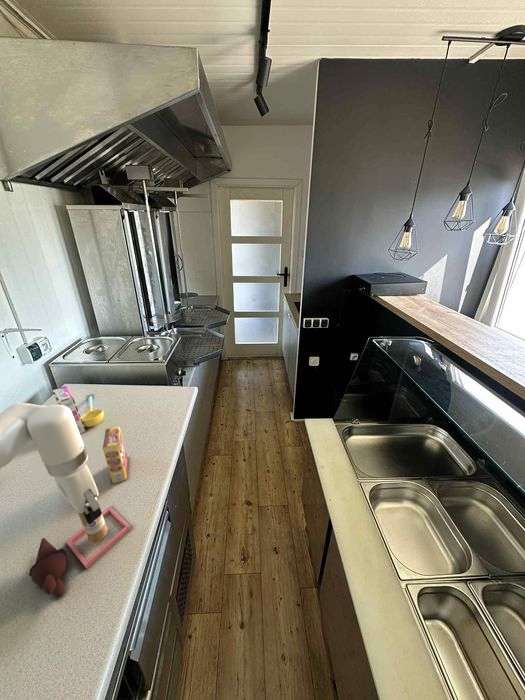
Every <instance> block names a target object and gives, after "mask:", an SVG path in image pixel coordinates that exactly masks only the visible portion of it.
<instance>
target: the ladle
mask: <svg viewBox="0 0 525 700" xmlns="http://www.w3.org/2000/svg"><path fill="white" fill-rule="evenodd" d="M87 405H88V412H86V413H84V414H83V415H81V418H82V420H83V423H84V425H85V428H92V427H95V426H97V425H99V423H101V422H102V420H103V418H104V411H103V409H100V408H99V409H98V408H97V409H94V410H93V396H92V395H90V396H89V397H88V399H87Z"/></svg>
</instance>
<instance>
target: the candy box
mask: <svg viewBox="0 0 525 700" xmlns="http://www.w3.org/2000/svg"><path fill="white" fill-rule="evenodd" d="M104 432H105V433H104V437H103V444H102V450H103V454H104V456H105V461H106V465H107V469H108V471H109V475H110V478H111V481H112V484H116V483H120V482H123V481H126V480H127V477H128V463H129V459H128V455H127V450H126V446H125V443H124V439H123V435H122V431H121V427H120V426H113V427H109V428H105V431H104Z"/></svg>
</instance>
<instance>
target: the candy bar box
mask: <svg viewBox="0 0 525 700" xmlns="http://www.w3.org/2000/svg"><path fill="white" fill-rule="evenodd" d="M52 393H53V397H54V398H55V401H56V403H57V405H64V406H67V407H68V408H69V409H70V410H71V412H72V414H73V417H74V419H75V422H76V425H77V427H78V430H79V433H80V434H83V433H85V432H87V427H86V426H85V425H84V423H83V420H82V418H81V416H82V415H81V412H80V411H79V408H78V406H77V403H76V401H75V399H74V397H73V394H72V393H71V391H70V389H69V388H68V386H67V385H64V386H61V387H58V388H56V389H53V390H52Z"/></svg>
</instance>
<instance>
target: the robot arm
mask: <svg viewBox="0 0 525 700" xmlns="http://www.w3.org/2000/svg"><path fill="white" fill-rule="evenodd" d="M30 441H32V442H33V444H34V446H35V448H36V450H37V452H38V455H39V457H40V459H41V461H42V463H43V465H44V468H45V469H46V471H47V474H48V475H49V476H50V477H52V478H53V479H54V481H55V484H56V487H57V489H58V491H59V492H60V494H61V495H62V497H63V498H64V499H65V500H66V501H67V502H68V503H69V504H70V505H71V506H72V508H73V509H74V510H75V509H76V510H81V509H82V508H83V510H84V512H83V514H84V516H85V518H86V521H87V523H88V524H91V523H92V522H93V521H94V520H96V519H97V518H98V517H99V516H101V515H102V513H103V512H102V510H101V507H100V505H99V502H98V499H97V500H96V498H98V497H99V495H100V494H99V489H98V487H97V485H96V482H95V479H94V477H93V475H92V473H91V471H90V468H89V466H88V465H87V461H88V459H89V454H88V452H87V449H86V447H85V443H84V441H83V438H82V436H81V433H79V430H78V427H77V425H76V422H75V419H74V417H73V414H72V412H71V410H70V409H69V408H68V407H67V406H64V405H58V404H52V405H40V404H34V403H28V402H18V403H13V404H11V405H10V406H8V407H6V408H5V409H4V410H2V412H0V469H2V468H4V467H6V466H7V465H9V464H10V463H11V462H12V461H13V460H14V459H15V458H16V457H17V456H18V454H20V452H21V451H22V450H23V449H24V448H25V447H26V445H28V443H29V442H30ZM95 497H96V498H95ZM87 503H89V505H90V506H89V507H86V505H85V504H87ZM76 510H75V511H76Z"/></svg>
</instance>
